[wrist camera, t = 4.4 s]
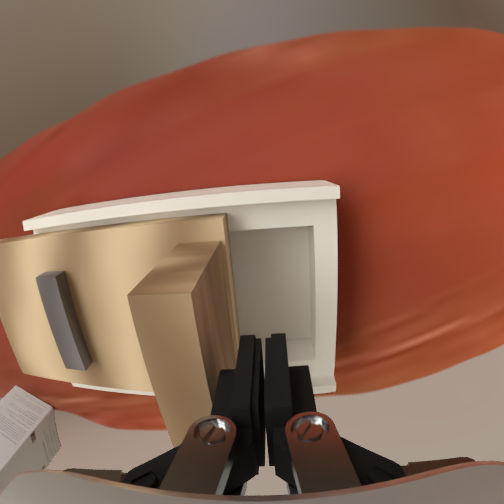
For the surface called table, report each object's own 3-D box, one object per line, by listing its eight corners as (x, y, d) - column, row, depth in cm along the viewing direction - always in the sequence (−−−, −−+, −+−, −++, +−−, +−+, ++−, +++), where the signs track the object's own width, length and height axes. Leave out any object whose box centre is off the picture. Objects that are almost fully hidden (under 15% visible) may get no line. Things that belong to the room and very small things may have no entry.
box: (323, 180, 18) (339, 185, 14) (325, 352, 22) (335, 391, 18) (60, 208, 20) (22, 221, 15) (97, 354, 23) (73, 386, 19)
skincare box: (62, 445, 28) (13, 530, 14) (24, 424, 28) (-30, 499, 13) (53, 403, 26) (-15, 500, 11) (12, 379, 25) (-60, 461, 11)
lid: (227, 212, 16) (192, 258, 8) (245, 377, 18) (234, 477, 11) (-6, 240, 17) (-82, 275, 10) (33, 362, 20) (-20, 418, 12)
